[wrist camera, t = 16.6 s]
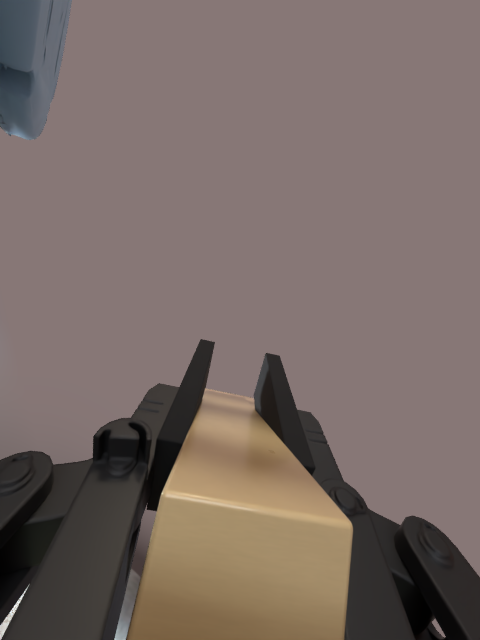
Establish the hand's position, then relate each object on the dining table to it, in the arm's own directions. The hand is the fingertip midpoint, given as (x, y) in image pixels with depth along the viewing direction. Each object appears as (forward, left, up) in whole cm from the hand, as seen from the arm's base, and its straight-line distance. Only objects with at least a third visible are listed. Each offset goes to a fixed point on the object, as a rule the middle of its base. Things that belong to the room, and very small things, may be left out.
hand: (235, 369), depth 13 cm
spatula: (+1, +1, -4) cm, 4 cm away
